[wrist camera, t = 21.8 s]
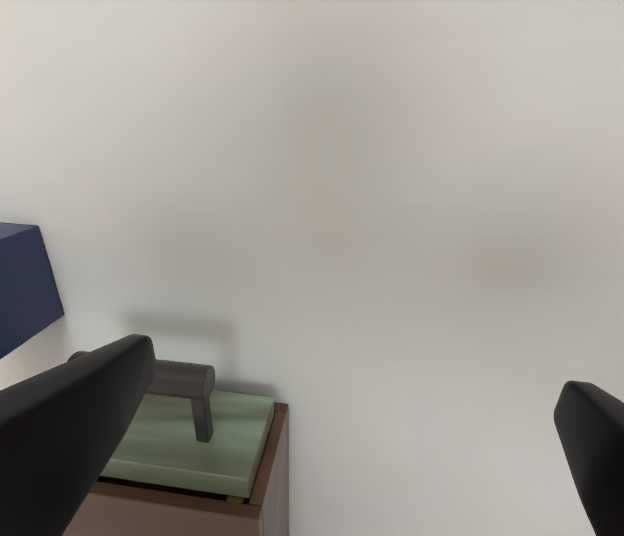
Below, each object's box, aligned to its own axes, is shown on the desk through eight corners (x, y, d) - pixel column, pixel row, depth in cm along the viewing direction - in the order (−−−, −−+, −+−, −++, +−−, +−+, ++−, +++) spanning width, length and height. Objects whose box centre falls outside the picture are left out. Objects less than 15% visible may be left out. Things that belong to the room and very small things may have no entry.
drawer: (77, 314, 18) (-7, 375, 14) (272, 333, 17) (242, 406, 13) (148, 567, 28) (109, 649, 23) (278, 590, 26) (262, 681, 22)
